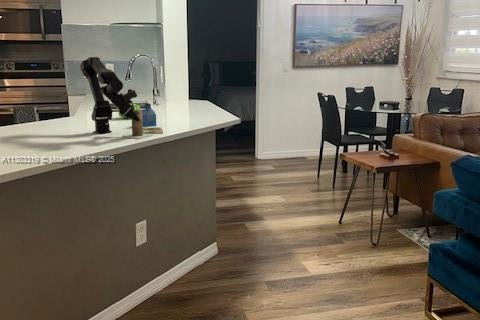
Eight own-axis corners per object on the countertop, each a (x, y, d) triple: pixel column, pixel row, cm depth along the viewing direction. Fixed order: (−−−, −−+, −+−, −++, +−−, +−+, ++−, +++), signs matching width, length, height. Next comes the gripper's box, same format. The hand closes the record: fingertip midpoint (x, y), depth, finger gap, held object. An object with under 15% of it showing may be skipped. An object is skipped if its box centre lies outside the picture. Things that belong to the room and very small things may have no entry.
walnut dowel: (129, 135, 218) (129, 110, 215) (137, 133, 222) (136, 109, 219) (138, 136, 215) (137, 111, 212) (144, 135, 220) (144, 110, 217)
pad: (122, 136, 217) (122, 135, 217) (136, 133, 225) (136, 132, 225) (138, 139, 212) (138, 138, 212) (152, 135, 221) (152, 134, 221)
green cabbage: (116, 117, 276) (115, 101, 274) (135, 116, 282) (134, 100, 279) (121, 120, 266) (120, 103, 264) (140, 119, 271) (140, 102, 269)
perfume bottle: (149, 124, 253) (149, 102, 251) (156, 125, 249) (155, 103, 246) (140, 125, 249) (139, 103, 246) (146, 127, 245) (145, 104, 242)
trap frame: (140, 133, 225) (140, 131, 225) (140, 129, 236) (140, 127, 235) (162, 133, 227) (162, 131, 227) (162, 129, 238) (162, 127, 237)
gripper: (125, 85, 203) (151, 109, 208) (127, 82, 221) (151, 105, 226) (108, 103, 203) (134, 127, 208) (111, 98, 221) (135, 120, 226)
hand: (139, 119), depth 217 cm, fingers open, 9 cm apart
